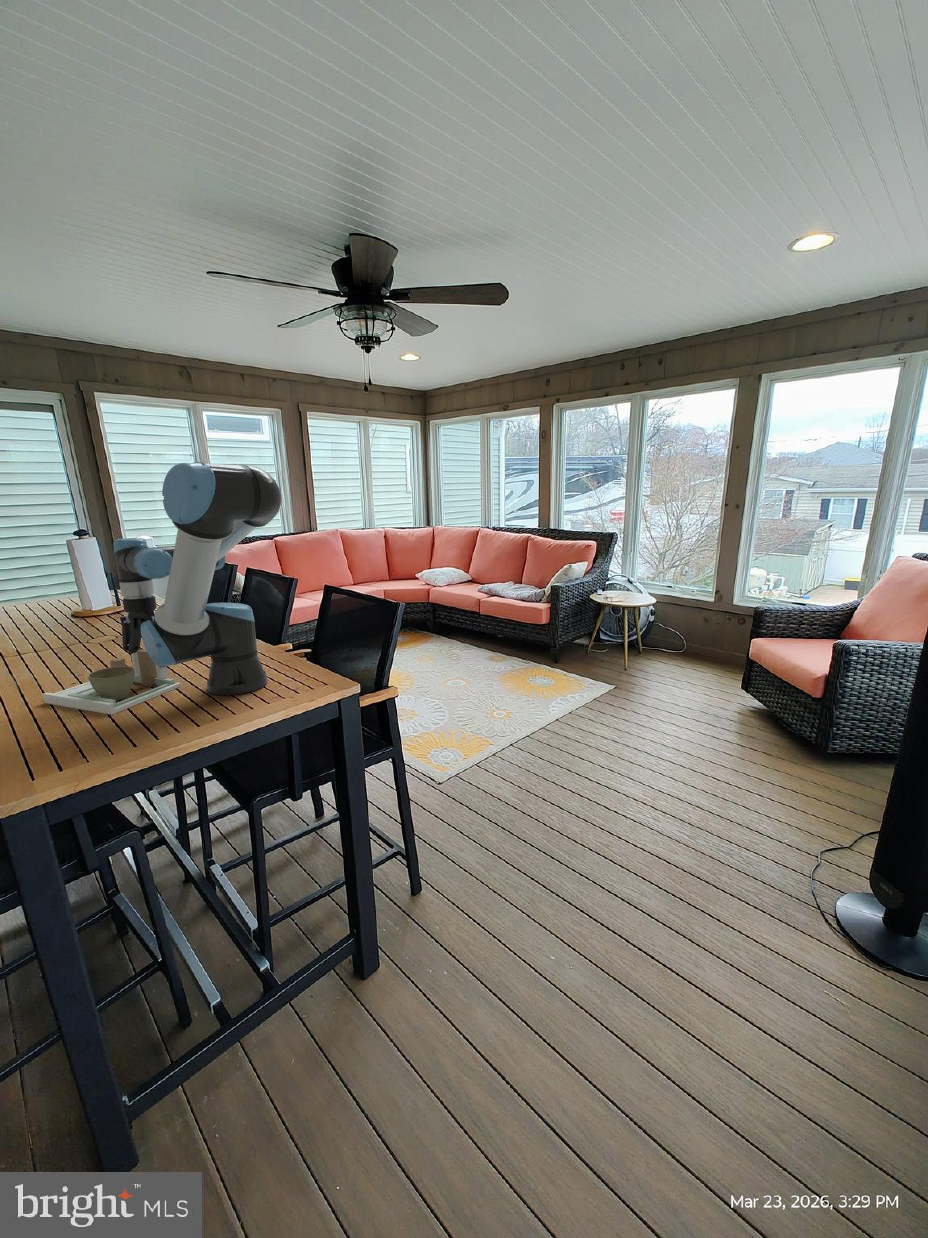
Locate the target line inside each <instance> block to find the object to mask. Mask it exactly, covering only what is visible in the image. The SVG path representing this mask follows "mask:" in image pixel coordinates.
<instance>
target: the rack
mask: <svg viewBox="0 0 928 1238" xmlns="http://www.w3.org/2000/svg"><path fill="white" fill-rule="evenodd" d="M89 683H90V681H87V682H84V683H82V684H78V685H76V686H72V687H68V688H66V689H62V690H60V691H57V692H54V693H52V692H44V693H42V697H43V700H44V701H43V702H44V704H48V705H54V706H59V707H65V708H72V709H76V710H83V711H89V712H95V713H101V714H105V715H106V714H107V715H114V714H116V713H117V714H118V713H119V712H121V711H123V710H126V709H129V708H131V707H134V706H136V705H139V704H141V703H143V702H146V701H149V700H151V699H153V698H156V697H158V696H161V695H163V694H165V693H168V692H170V691H174V690H175V689H177V688H178V689H179V688H180V687H182V683H181V682H176V683H175V682H174V683H175V684H173V685H170V686H168V687H165V688H163V689H160V690H158V691H155V692H153V693H150V694H148V695H145V696H143V697H140V698H137V699H135V700H132V701H130V702H127V703H125V704H122V705H120V706H117V707H114V703H109V702H103V701H96V700H90V699H84V698H78V697H72V696H66V695H60V694H59V693H62V692H65V691H68V690H71V689H74V688H77V687H80V686H83V685H86V684H89ZM92 691H94V689H93V690H90V691H87V692H84V693H81V694H82V695H83V694H86V693H89V692H92Z"/></svg>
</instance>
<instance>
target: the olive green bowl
mask: <svg viewBox="0 0 928 1238" xmlns="http://www.w3.org/2000/svg"><path fill="white" fill-rule="evenodd" d="M134 674H135V669H134V668H133V666H128V665H126V666H119V667H111V666H109V667H105V668H100V669H98V670H97V669H96V670H95V671H92V672H90V673H89V674H87V679H88V682H90V683H91V685H92V687H93V689H94V690H95V691H96V693H97V694H98V695H97V696H98V697H100V698H107V699H113V700H115V701H117V702H118V701H122V700H125V699H127V697H128V696H129V695H130V691H131V690H132V686H133V684H134V682H133V681H134Z"/></svg>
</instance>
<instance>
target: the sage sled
mask: <svg viewBox="0 0 928 1238" xmlns="http://www.w3.org/2000/svg"><path fill="white" fill-rule="evenodd" d="M137 655H138V661H139V667H140V673H141V675H140V676H135V675H134V681H133V683H136V684H137V683H138V684H141V685H142V687H143V686H145V687H154V688H151V689H149V690H147V691H144V692H141V693H139V694H136V695H134V696H132V697H129V698H125V699H122V700H119V701H117V702H116V701H115V700H113V699H107V698H101V697H100V696H99V695H98V694H97V693H96V691H95V690H94V691H92V692H89V693H86V694H83V695H82V694H75V693H71V694H68V696H72V697H78V698H84V699H90V700H96V701H103V702H109V703H114V707H117V706H120V705H122V704H125V703H127V702H130V701H132V700H135V699H137V698H140V697H143V696H145V695H148V694H150V693H153V692H155V691H158V690H160V689H163V688H165V687H168V686H170V685H173V684H175V679H174V678H168V677H166V678H163V679H160V680H159V679H158V677H157V671H156V665H155V663H154V662H153V661H152V660H151V658H150V657H149V655H148V653H147V651H146V649H145V648H141V650H138V651H137ZM155 686H156V687H155Z"/></svg>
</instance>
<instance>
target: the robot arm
mask: <svg viewBox="0 0 928 1238" xmlns="http://www.w3.org/2000/svg"><path fill="white" fill-rule="evenodd" d="M161 492H162V493H161V494H162V495H161V496H162V497H163V500H162V504H163V508H164V511H165V513H166V515H167V516H168V518H169V519H170V520H171V523H172V524H173V525H174V527H175V528H176V529H177V532H176V536H175V537H176V538H175V543H174V545H170V546H168V545H166V546H155V547H149V546H148V542H147V540H146V539H145V538H142V537H130V538H129V537H128V538H127V537H126V538H118V539H115V540H114V541H113V555H114V559H115V563H116V564H115V565H116V570H117V575H118V580H119V582H118V583H119V587H120V588H119V590H120V595H121V597H123V599H121V600H122V606H123V611H124V612H125V613H127V615H122V616H119V620H120V623H121V632H122V633H121V637H122V649H123V651H127V652H128V654H129V655H130V659H131V664H132V667H133V668H134V669H135V674H134V675H135V676H140V675H141V673H140V667H139V661H138V655H137V651H138V650H142V648H140V647H141V641H142V644H143V646H144V649H146V651H147V653H148V655H149V657H150V658H151V660H152V661H153V662H154V663H155V665H156V671H157V677H158V679H159V680H160V679H163V678H168V677H169V671H168V667H170V666H177V665H179V664H184V663H187V662H191V661H194V660H199V659H203V658H207V657H210V661H211V662H210V667H209V674H208V678H207V679H206V687H207V692H208V693H210V694H212V695H216V696H235V695H236V696H237V695H243V694H246V693H251V692H254V691H257V690H259V689H261V688H263V687H265V686H266V685H267V684H268V676H267V675H268V674H267V672H266V671H265V670H264V668H263V665H262V662H261V660H260V658H259V653H258V646H257V637H256V627H255V621H256V620H255V616H254V612H253V609H252V607H251V606H250V605H248V604H244V603H237V602H211V603H208V600H209V599H208V598H209V595H210V591H211V586H212V584H213V583H212V582H213V579H214V574H215V571H217V570H218V571H219V570H221V569H222V568H223V567H224V566H225V562H226V555H227V554H228V553H229V552H230V551H231V550H232V549H234V548H235V547H237V545H238V544H239V543H240V542H241V541H243V540H244V539H245V538H246V537H247V536H249V534H251V533H252V532H253V531H254V530H255V529H257V528H263V527H264V526H267V525H268V524H269V523H270V522H271V521H272V520H274V518H275V517H276V516H277V515H278V513H279V512H280V508H281V505H282V494H281V490H280V488H279V485H278V483H277V481H276V480H275V479H274V478H273V476H272V475H270V474H269V473H268V472H267V471H265V470H263V469H262V468H260V467H257V466H254V465H249V464H229V463H227V464H226V463H223V464H222V463H206V462H202V461H194V462H181V463H178V464H175V465H173V466H172V467H171V468H170V469H169V470H168V471H167V473H166V475H165V477H164V481H163V483H162V490H161ZM166 577H168V581H167V587H166V592H165V597H164V603H163V604H161V605H159V606H157V601H156V599H157V598H156V596H154V594H155V588H154V584H153V583H154V582H153V580H159V579H164V578H166Z"/></svg>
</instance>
